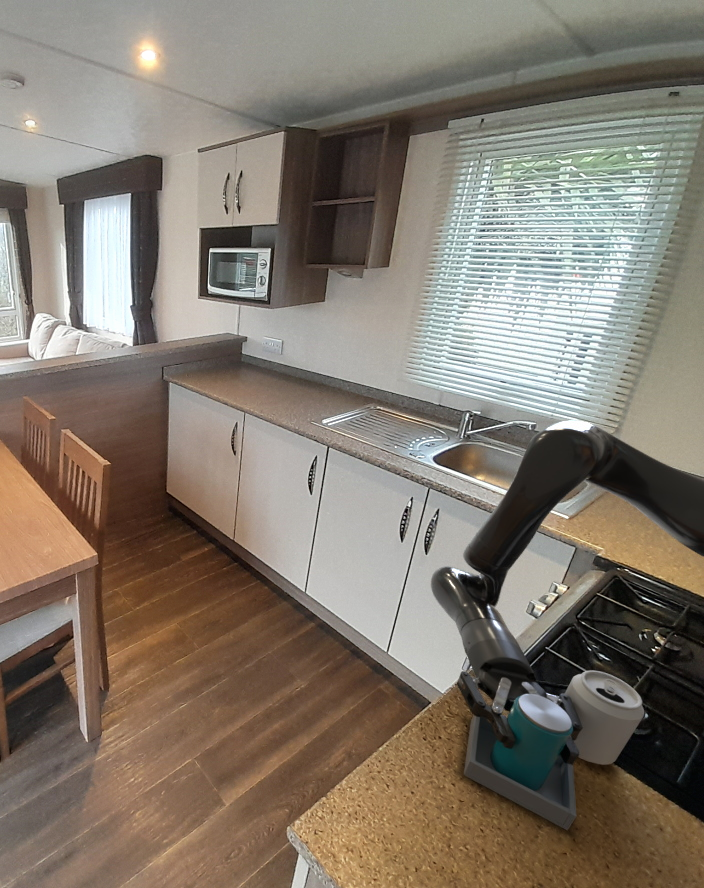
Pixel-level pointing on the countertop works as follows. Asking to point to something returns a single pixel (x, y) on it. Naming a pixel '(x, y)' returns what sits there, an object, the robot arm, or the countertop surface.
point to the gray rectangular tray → (546, 802)
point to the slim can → (532, 741)
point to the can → (604, 715)
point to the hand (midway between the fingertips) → (540, 751)
